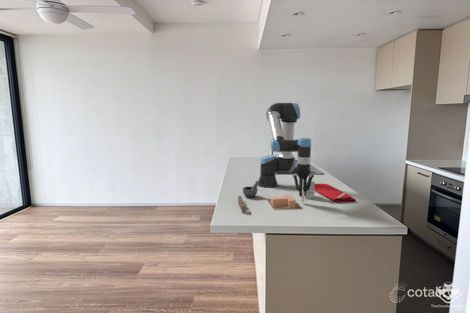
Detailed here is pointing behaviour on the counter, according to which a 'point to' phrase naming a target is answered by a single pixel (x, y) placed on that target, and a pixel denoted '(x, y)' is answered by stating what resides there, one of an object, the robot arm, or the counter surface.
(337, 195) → the dish drying mat
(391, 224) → the counter surface
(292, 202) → the tee
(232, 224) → the counter surface
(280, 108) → the robot arm
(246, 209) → the board
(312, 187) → the supplement box
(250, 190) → the mortar and pestle
